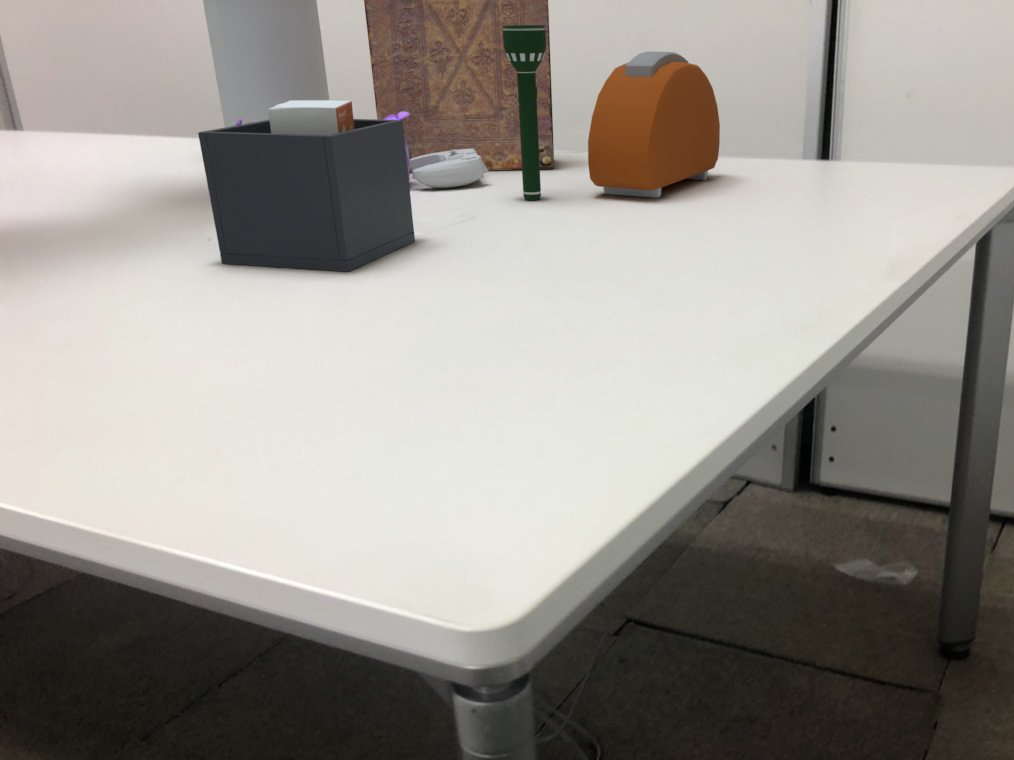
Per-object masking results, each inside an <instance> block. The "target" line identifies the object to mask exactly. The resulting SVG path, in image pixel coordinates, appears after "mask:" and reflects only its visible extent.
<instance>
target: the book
mask: <svg viewBox="0 0 1014 760" xmlns="http://www.w3.org/2000/svg"><path fill="white" fill-rule="evenodd" d="M363 3H364V13H365V14H364V15H365V20H366V31H367V40H368V41H367V42H368V48H369V59H370V67H371V75H372V83H373V84H372V86H373V94H374V103H375V111H376V120H383V119H384V118H386V117H387V116H389V115H396V116H397V115H398V113H400V112H403V111H404V112H408V113H409V116H408V117H405V118H402V121H403V123H404V135H405V139H406V142H407V146H408V152H409V160H410V159H412V158H415V157H418V156H422V155H426V154H431V153H437V152H444V151H451V150H454V149H457V150H460V149H471V148H472V149H475V151H476V153H477V154H478V156H479V155H480V156H481V160H482V161H483V163H484V165H485V166H486V168H487V169H488V171H513V170H514V171H515V170H518V171H519V170H521V171H522V159H521V140H520V121H519V102H518V83H517V71H516V70H515V68H514V67H513V65H512V64H511V63H510V61H509V60H508V58H507V55H506V53H505V50H504V46H503V26H513V25H543V26H545V30H546V50H545V54H544V57H543V60H542V61H541V63H540V65H539V66H538V68H537V70H536V71H535V74H536V87H537V118H538V140H539V162H540V170H551V169H554V168H555V152H554V151H555V148H554V146H555V145H554V121H553V94H552V91H553V90H552V67H551V66H552V65H551V64H552V63H551V42H550V41H551V39H550V13H549V12H550V11H549V10H550V9H549V0H363ZM409 173H412V169H411V168H410V169H409Z"/></svg>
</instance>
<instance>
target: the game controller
mask: <svg viewBox="0 0 1014 760" xmlns="http://www.w3.org/2000/svg"><path fill="white" fill-rule="evenodd" d="M409 163H410V168H411V169H412V172H411V175H412V177H413V179H414V180H415V181H416V182H417V183H419V184H421V185H423V186H425V187H428V188H436V189H449V188H457V187H458V188H459V187H461V186H466V185H469V184H472V183H475V182H476V181H478V180H480V179H482V178H484V174H485V173H487V172H489V170H488V169H487V168H486V166H485V165H484V163H483V161H482V160H481V156H480V155H479V156H478V154H477V153H476V151H475V149H472V148H471V149H460V150H457V149H454V150H451V151H444V152H437V153H431V154H426V155H422V156H418V157H415V158H412V159H410V160H409Z"/></svg>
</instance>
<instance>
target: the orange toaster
mask: <svg viewBox="0 0 1014 760" xmlns="http://www.w3.org/2000/svg"><path fill="white" fill-rule="evenodd" d="M719 116H720V115H719V109H718V103H717V99H716V96H715V91H714V88H713V86H712V84H711V82H710V80H709V78H708V76H707V75H706V74H705V72H704V71H703V70H702V68H701V67H700V66H699V65H697V64H695V63H691V62H689V60H687V59H686V58H685V57H684V56H682V55H681V54H679V53H678V52H673V51H647V50H646V51H643V52H639V53H638V54H637V55H635V56H633V57H632V58H631V60H630V61H628V62H626V63H624V64H622V65H618V66H617V67H615V68H614V69H613V70H612V71H611V73H610V74H609V76H608V77H607V79H606V80H605V81H604V83H603V85H602V87H601V89H600V91H599V92H598V95H597V98H596V102H595V106H594V109H593V112H592V115H591V121H590V127H589V131H588V133H589V134H588V140H587V152H588V153H587V164H588V174H589V179H590V181H591V182H592V183H593V185H594V186H596V187H602V188H603V193H604V194H605V195H615V196H627V197H640V198H651V199H658V198H660V197H662V188H664V187H667V186H669V185H672V184H675V183H678V182H681V181H683V180H696V181H697V180H698V181H706V180H707V179H708V173H709V171H711V170H713V169H715V167H716V165H717V163H718V160H719V154H720V153H719V152H720V142H721V141H720V135H721V134H720V133H721V132H720V131H721V125H720V117H719Z"/></svg>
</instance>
